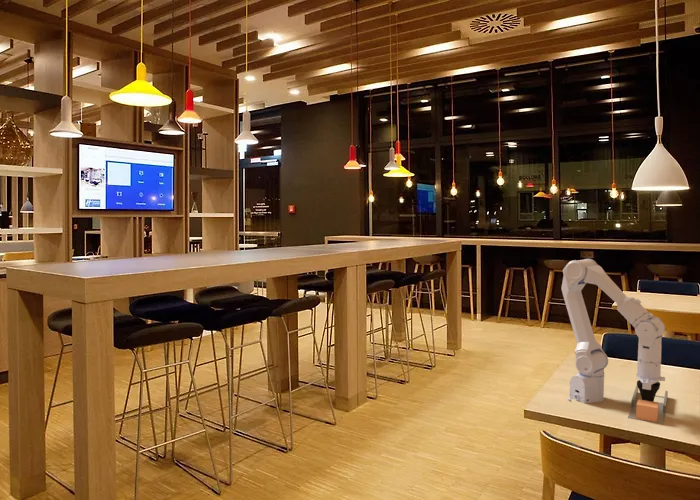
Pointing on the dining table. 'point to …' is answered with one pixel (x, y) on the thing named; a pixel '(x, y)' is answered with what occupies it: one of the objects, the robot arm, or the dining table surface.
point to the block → (647, 410)
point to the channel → (660, 408)
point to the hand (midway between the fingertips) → (647, 407)
